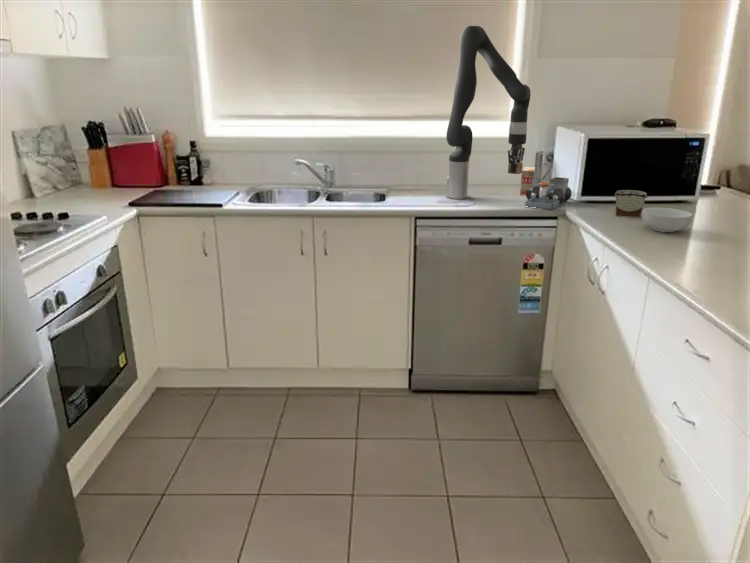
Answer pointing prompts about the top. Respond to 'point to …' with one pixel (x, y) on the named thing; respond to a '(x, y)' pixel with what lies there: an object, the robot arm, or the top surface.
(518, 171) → the block
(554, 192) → the trolley
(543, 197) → the pin
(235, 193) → the top surface
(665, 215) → the cereal bowl
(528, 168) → the stack of blocks
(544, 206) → the tray
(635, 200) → the food container
